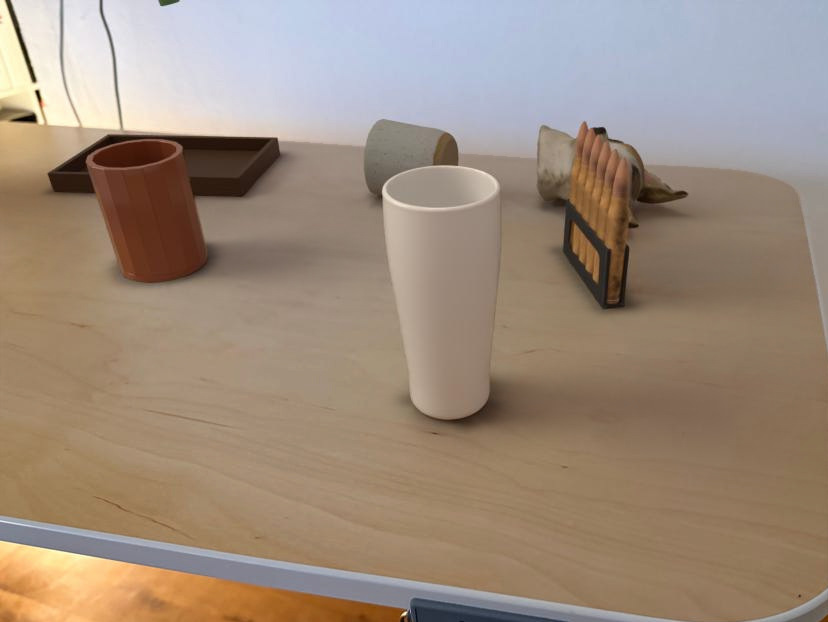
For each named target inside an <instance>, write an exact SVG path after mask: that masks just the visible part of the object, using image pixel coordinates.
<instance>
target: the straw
mask: <svg viewBox="0 0 828 622" xmlns="http://www.w3.org/2000/svg"><path fill="white" fill-rule="evenodd" d="M157 1H158V3H159V6H160V7H165V6H170V5H174V4H177V3H179V2H180V1H181V0H157Z"/></svg>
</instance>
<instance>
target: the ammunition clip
mask: <svg viewBox="0 0 828 622" xmlns="http://www.w3.org/2000/svg"><path fill="white" fill-rule="evenodd" d="M588 130H589V131H588ZM576 138H577V142H576V149H575V157H574V165H573V168H572V173H571V185H570V199H567V200H565V214H564V215H565V216H564V229H563V231H564V232H563V240H562V241H563V242H562V243H563V244H562V253H563V254H564V256H565V257H566V258H567V260H568V261H569V263H570V264H571V266H572V267H573V269H574V270H575V272H576V273H577V274H578V276H579V277H580V278H581V280H582V281H583V283H584V285H585V286H586V287H587V289H588V291H590V293H591V295H592V296H593V297H594V299H595V300H596V302H597V303H598V304H599V306H600V307H601V309H610V308H616V307H617V308H618V307H623V306H624V307H625V302H626V301H625V300H626V290H627V289H626V288H627V279H628V268H629V260H630V249H631V248H630V246H629V245H628V244H627V242H628V231H629V228H628V223H629V207H628V204H629V185H630V177H629V167H628V162H627V159H626V158H625V157H623V158H622V160H621V161H620V159H619V154H618V151H617V149H614V150H613V152H612V154H611V148H610V145H609V142H605V144H604V145H603V141H602V137H601V135H600V134H598V135H597V137H596V136H595V132H594V129H593V127H590V128H589V126H588V123H587V121H586V120H584V121H582V123H581V124H580V127H579V129H578V133H577V136H576Z"/></svg>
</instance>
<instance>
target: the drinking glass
mask: <svg viewBox="0 0 828 622" xmlns="http://www.w3.org/2000/svg"><path fill="white" fill-rule="evenodd" d="M381 197H382V199H381V200H382V221H383V235H384V247H385V253H386V260H387V267H388V273H389V277H390V284H391V288H392V289H391V290H392V295H393V299H394V305H395V310H396V315H397V320H398V326H399V332H400V337H401V343H402V349H403V352H404V353H403V355H404V359H405V365H406V371H407V377H408V378H407V379H408V389H409V390H408V391H409V397H410V400H411V403H412V405H414V407H415V408H416V409H417V410H418V411H419V412H420V413H422V414H423V415H425V416H427V417H430V418H434V419H437V420H444V421H445V420H446V421H447V420H459V419H464V418H467V417H469V416H472V415H474V414H476V413H477V412H479V411H480V410H481V409H482V408H483V407H484V406H485V405H486V404H487V402H488V400H489V397H490V393H491V365H492V364H491V363H492V352H493V342H494V341H493V340H494V330H495V319H496V311H497V299H498V290H499V282H500V281H499V280H500V272H501V271H500V270H501V259H502V258H501V257H502V242H503V241H502V238H503V237H502V235H503V229H502V227H503V226H502V225H503V224H502V201H501V200H502V199H501V185H500V183H499V181H498V180H497V178H495V176H493V175H492V174H490V173H488V172H486V171H483V170H481V169H478V168H472V167H469V166H463V165H462V166H461V165H458V166H428V167H421V168H416V169H411V170H408V171H405V172H402V173H399V174H397V175H395V176H393V177H392V178H390V179H389V180H388V181H387V182H386V183H385V184H384V186H383V189H382V195H381Z"/></svg>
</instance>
